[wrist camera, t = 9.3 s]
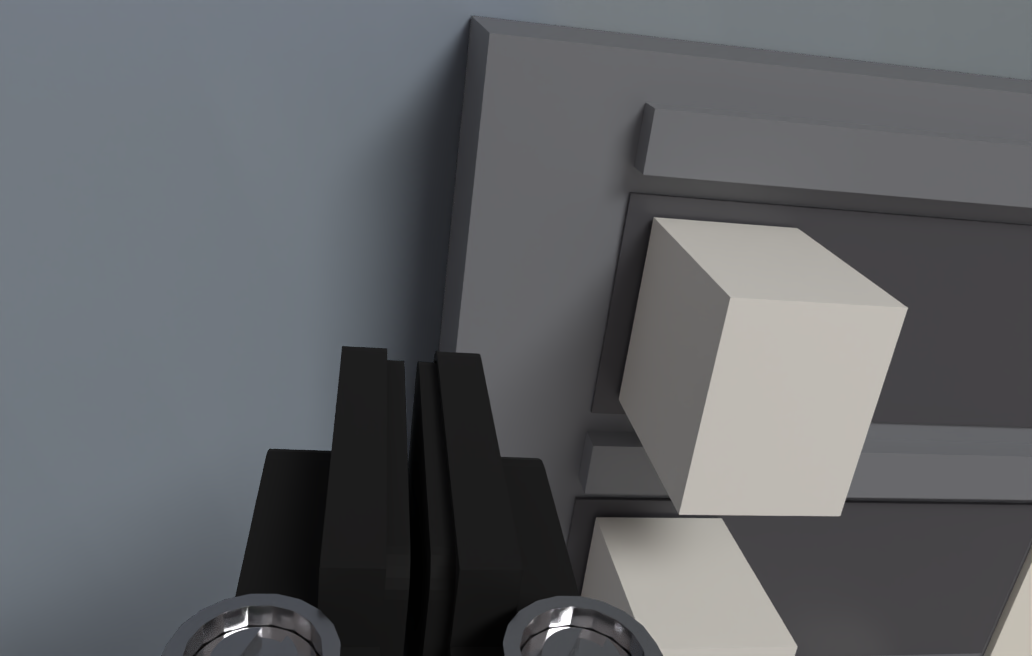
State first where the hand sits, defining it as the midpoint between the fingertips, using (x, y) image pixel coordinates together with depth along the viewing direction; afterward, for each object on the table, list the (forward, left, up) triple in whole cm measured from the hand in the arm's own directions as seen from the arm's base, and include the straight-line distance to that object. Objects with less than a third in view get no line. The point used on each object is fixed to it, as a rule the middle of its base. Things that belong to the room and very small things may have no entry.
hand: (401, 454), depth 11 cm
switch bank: (-8, -10, -10) cm, 16 cm away
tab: (-1, -6, -6) cm, 9 cm away
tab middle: (-8, -6, -6) cm, 12 cm away
